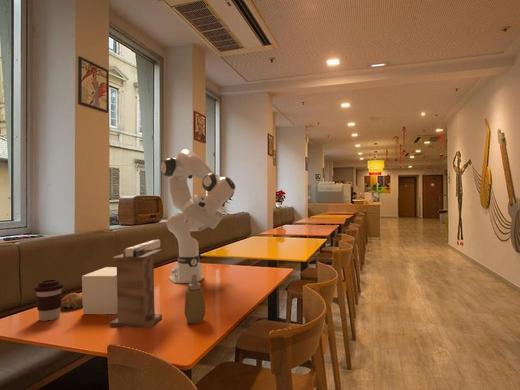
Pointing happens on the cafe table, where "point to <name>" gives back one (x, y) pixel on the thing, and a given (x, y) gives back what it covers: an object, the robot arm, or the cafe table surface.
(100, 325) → the cafe table surface
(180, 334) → the cafe table surface
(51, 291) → the coffee cup
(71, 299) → the bread roll
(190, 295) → the squeeze bottle
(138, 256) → the walnut stand
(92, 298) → the cream tilted cube
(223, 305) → the cafe table surface
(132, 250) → the brushed metal block
